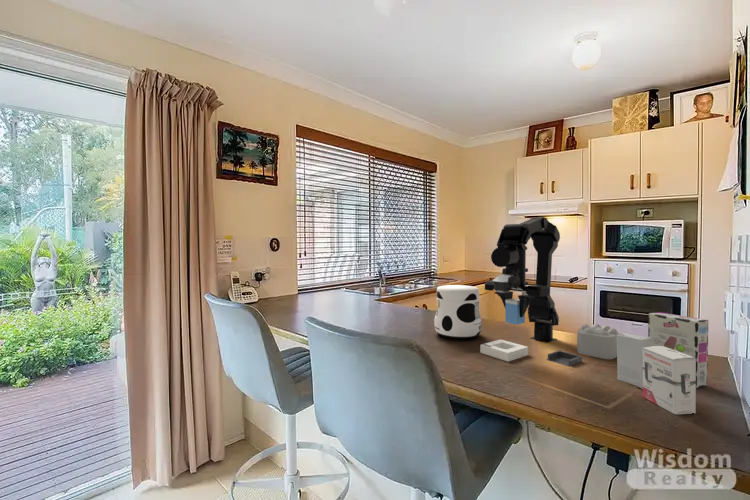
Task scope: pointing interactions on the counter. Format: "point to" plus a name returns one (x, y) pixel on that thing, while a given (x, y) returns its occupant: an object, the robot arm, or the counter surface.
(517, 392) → the counter surface
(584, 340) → the grey lumpy container
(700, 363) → the candy bar box
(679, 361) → the ink box
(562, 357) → the grey shallow square piece
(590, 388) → the counter surface
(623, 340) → the skincare box
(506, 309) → the plug
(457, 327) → the milk container
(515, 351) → the port
